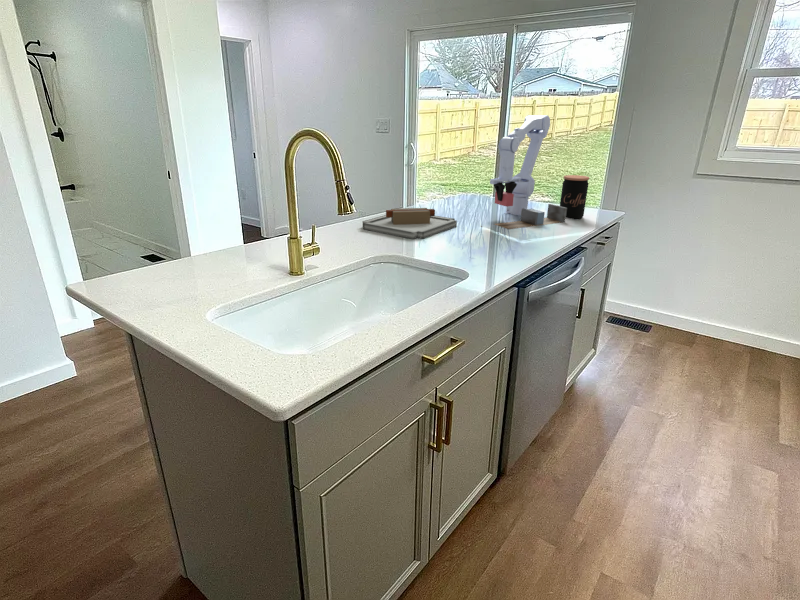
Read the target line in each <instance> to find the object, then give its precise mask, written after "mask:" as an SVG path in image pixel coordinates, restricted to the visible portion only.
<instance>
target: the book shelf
mask: <svg viewBox="0 0 800 600" xmlns="http://www.w3.org/2000/svg"><path fill="white" fill-rule="evenodd" d="M566 212H567V208H565V207H561V206H560V205H557V204H553V203H548V206H547V214H546V217H544V222H543V224H540V225H533V224H530V223H527V222H523V221H521V220H517V221H516V220H515V221H508V222H500V223H499V222H498V223H494V225H495V226H496V227H497V226H498V227H501V228H503V229H505V230H506V229H507V230H515V229H520V228H522V229H523V228H531V227H537V226H545V225H546V226H547V225H553V224H554V225H555V224H561V223H566V220H567V219H566V218H567V217H566Z"/></svg>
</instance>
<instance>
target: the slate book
mask: <svg viewBox="0 0 800 600" xmlns="http://www.w3.org/2000/svg"><path fill="white" fill-rule="evenodd" d="M527 209H528V210H532V211H535V212H538V218H537V225H539V226H541V225H540V224H543V222H544V218H545V213H546V212H545V211H541V210H537V209H536V208H535V209H534V208H527Z"/></svg>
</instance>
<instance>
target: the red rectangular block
mask: <svg viewBox="0 0 800 600" xmlns="http://www.w3.org/2000/svg"><path fill="white" fill-rule="evenodd" d="M513 198H514V194H512V193H508V192H506V191H504V192H503V199H502V201H498V198H497V193H496V191H495V196H494V204H496V205H499V206H503V207H505V208H507V206H513Z"/></svg>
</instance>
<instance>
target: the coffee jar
mask: <svg viewBox="0 0 800 600" xmlns="http://www.w3.org/2000/svg"><path fill="white" fill-rule="evenodd" d="M589 181H590V177H589V176H585V175H581V174H580V175H578V174H573V175H572V174H569V175H568V174H567V175H563V182H562V184H561V185H562V186H561V193H560V202H559V206H561V207H565V208H567V212H566V218H567V219H571V220H574V221H577V220H578V221H579V220H581V219H582V218H584V214H585V209H586V201H587V196H588V190H589Z"/></svg>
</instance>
